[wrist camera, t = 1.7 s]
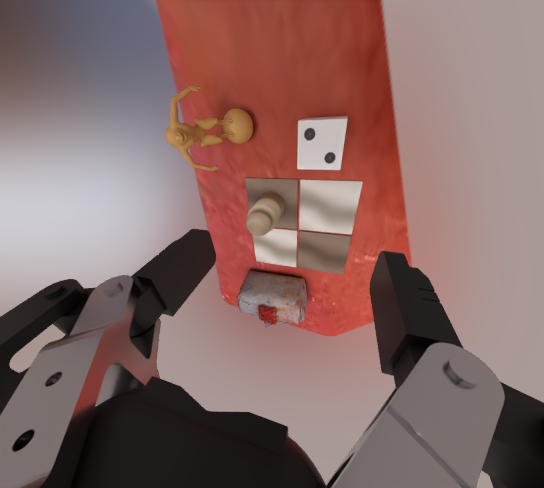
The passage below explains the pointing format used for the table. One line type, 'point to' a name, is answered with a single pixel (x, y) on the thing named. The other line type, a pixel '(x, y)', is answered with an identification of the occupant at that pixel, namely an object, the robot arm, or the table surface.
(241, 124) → the figurine
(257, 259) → the game mat
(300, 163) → the die
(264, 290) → the food item
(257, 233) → the pawn
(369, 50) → the table surface
